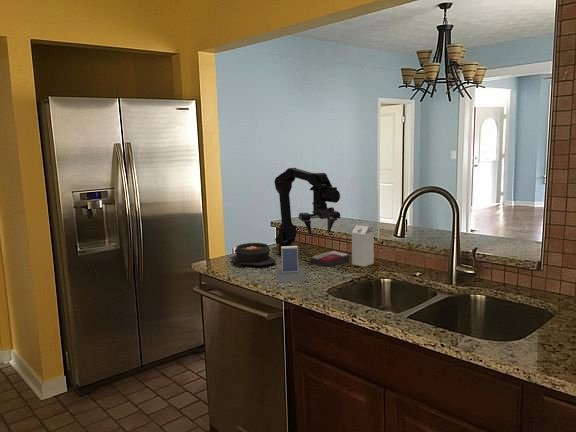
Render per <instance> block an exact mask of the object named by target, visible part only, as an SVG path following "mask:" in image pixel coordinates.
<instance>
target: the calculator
mask: <svg viewBox="0 0 576 432" xmlns="http://www.w3.org/2000/svg"><path fill="white" fill-rule="evenodd" d="M310 263H311V264H315V265H319V266H322V267H326V268H327V267H331V266H333V267H334V266H337V265H341V264H346V263H350V254H348V253H344V252H339V251H335V250H331V251H328V252H327V251H326V252H324V253H321V254H315V255H313V256H311V257H310Z"/></svg>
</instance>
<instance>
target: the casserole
mask: <svg viewBox="0 0 576 432" xmlns="http://www.w3.org/2000/svg"><path fill="white" fill-rule="evenodd" d="M270 251H271V248H270V246H269V245H268V244H267V243H263V242H261V243H260V242H247V243H243V244H238V245H237V246H236V247H235V250H234V254H235V255H232V256H231V257H230V260H231V261H233V262H234V263H236V264H239V265H242V266H246V267H247V266H249V267H252V266H253V267H257V266H267V265H271V264H274V263H276V262H277V259H274V258H273V257H272V256H270Z"/></svg>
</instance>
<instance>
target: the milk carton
mask: <svg viewBox="0 0 576 432" xmlns="http://www.w3.org/2000/svg"><path fill="white" fill-rule="evenodd" d="M374 234H375V232H374V230H373V229H372V228H371V227H370V223H363V222H356V225H355V227H354V228H353V230H352V231H351V265H353V266H359V267H363V268H365V267H367V266H370V265H374V264H375V263H374V261H375V260H374V259H375V257H374V254H375V253H374V252H375V251H374V250H375V249H374V247H375V244H374V243H375V242H374V241H375V240H374V239H375V237H374Z"/></svg>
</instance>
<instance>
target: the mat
mask: <svg viewBox="0 0 576 432" xmlns="http://www.w3.org/2000/svg"><path fill="white" fill-rule="evenodd" d="M275 270H276V271H275V272H276V278H277V283H287V282H306V281H308V279H307V276H306V273H305V270H304V268H303V267H298V272H286V273H282V268H276V269H275Z"/></svg>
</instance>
